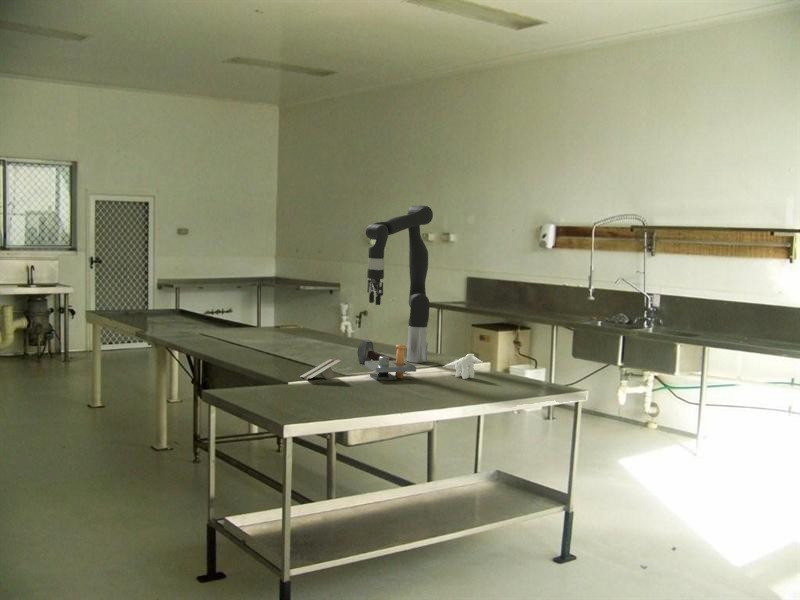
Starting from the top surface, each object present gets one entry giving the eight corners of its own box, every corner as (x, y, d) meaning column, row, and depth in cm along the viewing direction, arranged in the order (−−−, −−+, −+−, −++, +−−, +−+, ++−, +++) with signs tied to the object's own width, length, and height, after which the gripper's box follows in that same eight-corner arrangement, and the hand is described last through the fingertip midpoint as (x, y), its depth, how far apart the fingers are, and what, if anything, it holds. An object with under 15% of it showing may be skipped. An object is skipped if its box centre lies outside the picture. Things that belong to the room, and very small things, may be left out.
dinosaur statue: (477, 380, 363) (477, 355, 363) (437, 377, 380) (436, 352, 380) (487, 379, 368) (487, 353, 368) (447, 375, 385) (446, 351, 385)
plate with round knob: (375, 381, 354) (376, 360, 353) (364, 374, 369) (365, 354, 368) (415, 380, 361) (416, 360, 360) (402, 373, 376) (403, 353, 375)
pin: (393, 376, 368) (394, 344, 367) (402, 376, 369) (403, 344, 368) (396, 378, 364) (397, 346, 363) (405, 378, 365) (407, 346, 364)
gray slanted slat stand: (324, 393, 344) (349, 368, 349) (310, 378, 342) (336, 353, 347) (312, 391, 360) (337, 367, 364) (299, 376, 358) (324, 352, 362)
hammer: (405, 380, 380) (364, 361, 402) (409, 356, 378) (367, 338, 399) (397, 381, 377) (356, 362, 398) (401, 357, 375) (359, 339, 396)
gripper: (362, 267, 388) (361, 302, 389) (373, 269, 375) (372, 305, 376) (378, 267, 391) (377, 302, 392) (389, 269, 377) (387, 305, 379)
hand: (374, 303), depth 384 cm, fingers open, 8 cm apart
